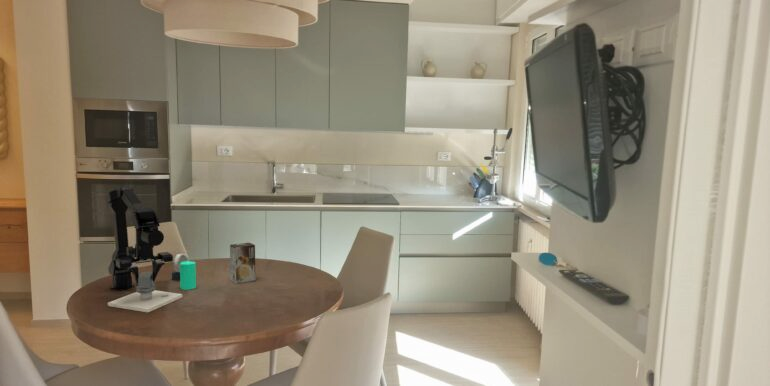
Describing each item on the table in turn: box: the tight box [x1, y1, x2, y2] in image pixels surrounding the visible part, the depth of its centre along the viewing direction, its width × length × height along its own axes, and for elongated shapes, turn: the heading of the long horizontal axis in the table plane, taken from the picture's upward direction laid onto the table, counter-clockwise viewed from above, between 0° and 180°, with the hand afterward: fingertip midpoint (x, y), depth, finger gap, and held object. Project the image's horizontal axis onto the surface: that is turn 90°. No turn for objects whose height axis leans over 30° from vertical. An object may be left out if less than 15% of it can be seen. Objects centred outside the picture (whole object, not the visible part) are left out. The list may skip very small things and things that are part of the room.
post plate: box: [107, 289, 183, 313], centre depth 190 cm, size 18×18×4 cm
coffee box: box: [229, 242, 257, 285], centre depth 219 cm, size 9×6×16 cm
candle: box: [179, 260, 197, 290], centre depth 207 cm, size 6×6×12 cm
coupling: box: [135, 270, 156, 293], centre depth 189 cm, size 8×6×6 cm
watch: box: [171, 253, 190, 281], centre depth 219 cm, size 6×8×11 cm
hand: (145, 282), depth 189 cm, fingers closed on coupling, 5 cm apart
